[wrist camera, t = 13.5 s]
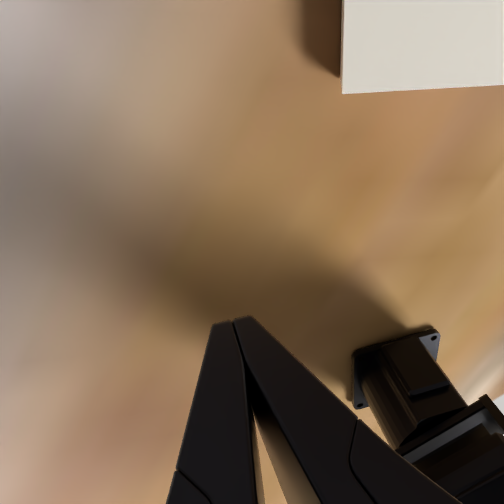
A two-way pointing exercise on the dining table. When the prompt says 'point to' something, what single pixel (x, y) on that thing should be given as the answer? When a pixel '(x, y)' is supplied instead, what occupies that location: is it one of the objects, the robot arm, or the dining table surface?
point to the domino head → (421, 44)
